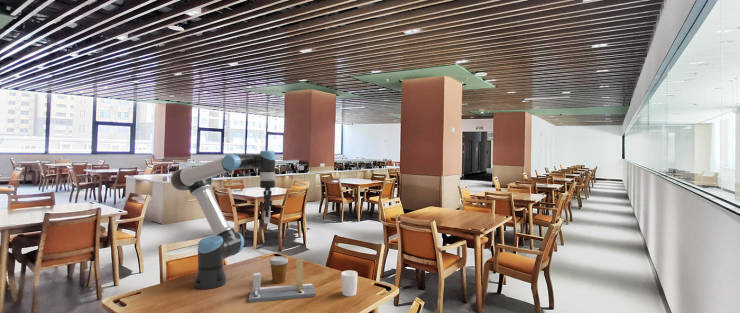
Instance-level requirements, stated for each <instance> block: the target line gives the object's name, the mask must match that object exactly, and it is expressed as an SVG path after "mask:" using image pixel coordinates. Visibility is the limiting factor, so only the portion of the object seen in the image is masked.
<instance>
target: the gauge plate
mask: <svg viewBox="0 0 740 313" xmlns="http://www.w3.org/2000/svg"><path fill="white" fill-rule="evenodd" d="M252 277H253V280H252V281H253V282H252V283H253V284H252V286H253V287H252V289H251V288H250V292H249V295H248V303H259V302H268V301H269V302H270V301H280V300H293V299H302V298H303V299H304V298H315V297H316V296H317V293H316V289H315V285H314V283H303V286H301V292H299V286H297V284H289V285H274V286H262V287H261V272H254V273H253V276H252Z"/></svg>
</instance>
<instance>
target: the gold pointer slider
mask: <svg viewBox="0 0 740 313" xmlns="http://www.w3.org/2000/svg"><path fill="white" fill-rule="evenodd" d="M303 284H304V259H303V258H299V259H296V283H295V285H297V286H299V292H301V286H303Z"/></svg>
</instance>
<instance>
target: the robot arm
mask: <svg viewBox="0 0 740 313" xmlns="http://www.w3.org/2000/svg"><path fill="white" fill-rule="evenodd" d="M248 169H249V170H250V169H259V179H260V181H259V187H260V188H261V189H264V191H263V200H264V203H263V204H264V205H263V208H262V211H263V224H270V222H271V220H270V219H271V217H272V216H271V209H272V208H271V207H272V206H273V203H272V202H271V199H272V190H271V189H274V188H276V180H275V179H276V177H277V173H276V153H275V151H274V150H261V151H260V152H259V154H253V153H252V154H251V153H250V154H249V153H246V154H244V153H243V154H237V153H230V154H227V155H225V156H224V157H222V158H219V159H215V160H212V161H210V162H207V163H204V164H200V165H198V166H194V167H191V168H188V167H185V168H182V169H178V170H176V171H174V172H173V173H172V175H171V176H170V183H171V186H172V187H173V188H175V189H176V190H177V191H189V193H190V195H191V196H193V197H195V198H196V200H197V203H198V205H199V207H200V209H201V210H202V212H203V215H204V217H205V218H206V221H207V223H208V224H209V227H210V229H211V231H212V234H213V235H211V236H206V237H204V238H203V237H202V238H201V239H199V241H198V244H197V272H196V275H195V278H194V280H193V287H194V288H196V289H199V290H210V289H215V288H219V287H220V288H221V287H222V286H223V285H225V284H227V276H226V272H225V270H224V267H223V266H224V259H227V258H229V257H232V256H235V255H237V254H239V253H241V252H242V250H243V249H244V245H245V238H244V236H243V235H242V234H241V233H240V232H238V231H236V230H235V228H234V227H232V226H230V224H229V223H228V221H227V220H226V217H225V215H224V213H223V211H222V209H221V207H220V206H219V203H218V201H217V199H216V197H215V195H214V193H213V191H212V187H213V185H212V184H213V178H214V177H216V176H220V175H223V174H225V173H229V172H234V171H236V170H248Z"/></svg>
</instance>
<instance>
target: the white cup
mask: <svg viewBox="0 0 740 313" xmlns="http://www.w3.org/2000/svg"><path fill="white" fill-rule="evenodd" d="M340 274H341V276H340V277H341V292H342V293H341V294H342V296H345V297H353V296H355V295H356V294H357V287H358V275H359V274H358V272H357V271H356V270H351V269H350V270H349V269H348V270H344V271H342V272H341V273H340Z"/></svg>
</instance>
